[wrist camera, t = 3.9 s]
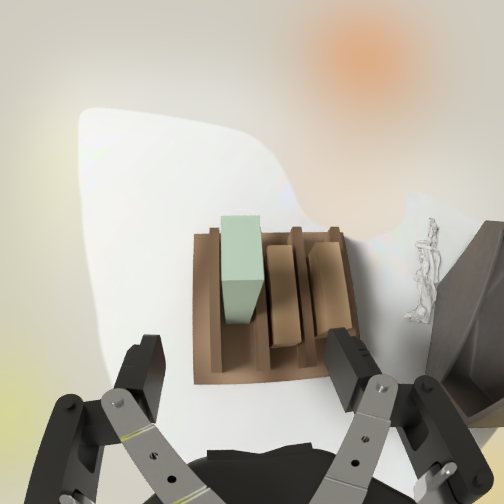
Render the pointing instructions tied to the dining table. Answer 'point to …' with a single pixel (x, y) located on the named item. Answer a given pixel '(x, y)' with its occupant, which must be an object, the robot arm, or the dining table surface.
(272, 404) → the dining table surface
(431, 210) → the dining table surface
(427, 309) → the white statue
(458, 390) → the planter
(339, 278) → the offcut
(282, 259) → the offcut
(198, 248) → the rack
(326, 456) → the robot arm
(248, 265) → the pale green block
